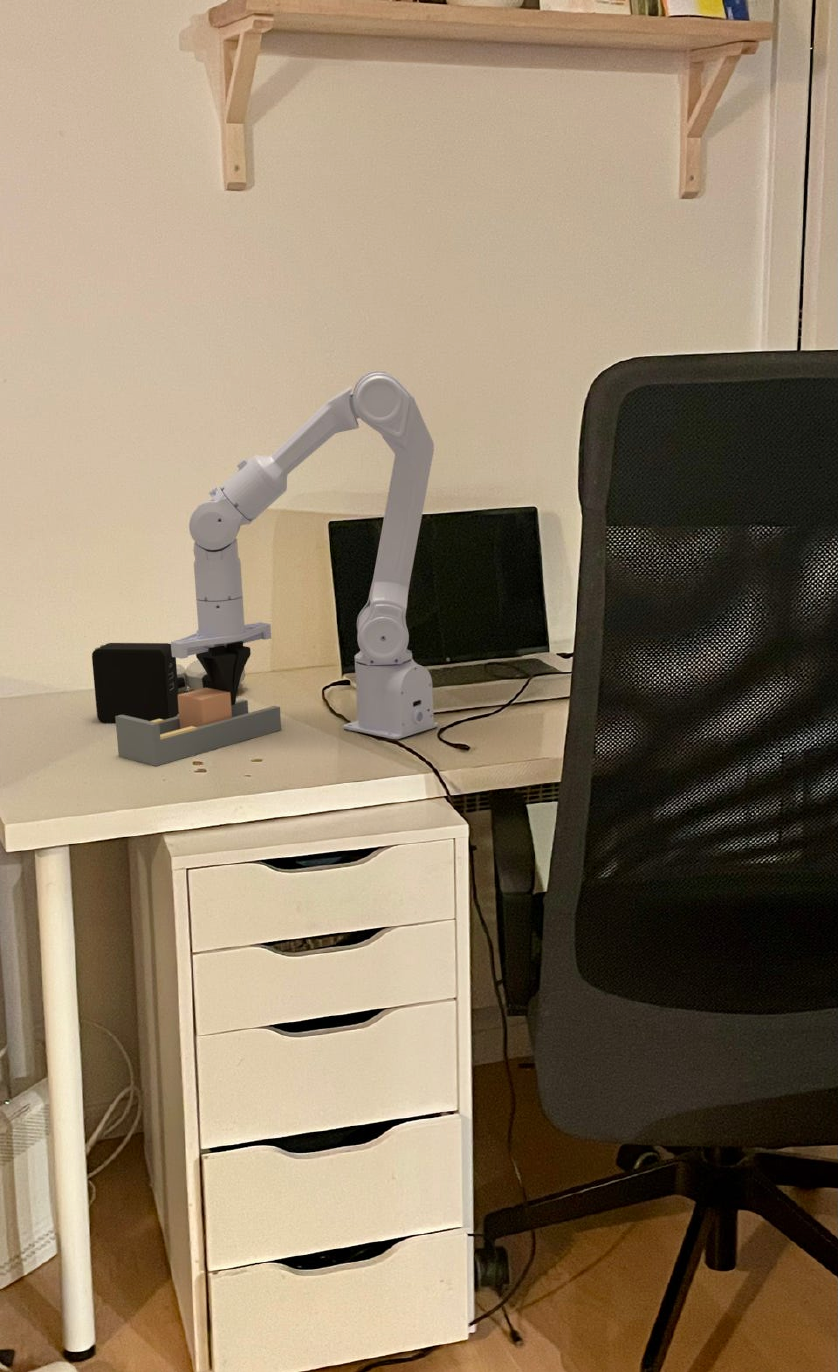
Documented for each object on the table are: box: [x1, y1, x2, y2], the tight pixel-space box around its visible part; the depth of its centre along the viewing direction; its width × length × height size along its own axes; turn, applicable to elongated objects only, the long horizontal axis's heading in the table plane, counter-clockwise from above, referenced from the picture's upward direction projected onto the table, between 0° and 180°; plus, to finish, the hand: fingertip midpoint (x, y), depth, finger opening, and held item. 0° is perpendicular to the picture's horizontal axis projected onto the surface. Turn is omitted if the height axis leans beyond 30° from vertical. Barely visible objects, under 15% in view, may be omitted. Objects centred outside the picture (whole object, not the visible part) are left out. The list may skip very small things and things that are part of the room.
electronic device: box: [91, 642, 179, 725], centre depth 199 cm, size 4×10×10 cm, turn 78°
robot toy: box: [176, 659, 246, 694], centre depth 214 cm, size 12×4×15 cm
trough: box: [115, 699, 282, 767], centre depth 187 cm, size 20×7×5 cm, turn 138°
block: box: [178, 688, 232, 729], centre depth 187 cm, size 5×5×5 cm
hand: (226, 704), depth 190 cm, fingers closed
